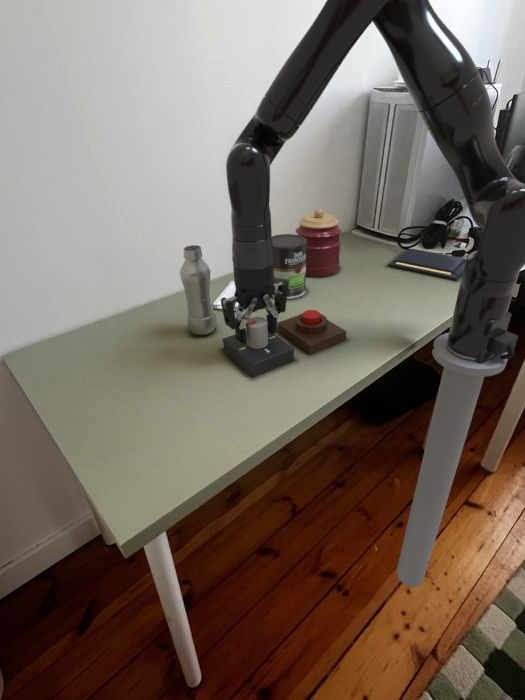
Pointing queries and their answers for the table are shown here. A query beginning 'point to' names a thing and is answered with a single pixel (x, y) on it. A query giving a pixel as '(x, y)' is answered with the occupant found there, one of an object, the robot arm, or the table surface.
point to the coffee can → (290, 263)
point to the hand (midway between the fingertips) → (257, 337)
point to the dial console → (259, 354)
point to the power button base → (311, 333)
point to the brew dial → (257, 332)
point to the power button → (311, 317)
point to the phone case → (226, 295)
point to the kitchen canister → (320, 243)
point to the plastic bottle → (197, 291)
